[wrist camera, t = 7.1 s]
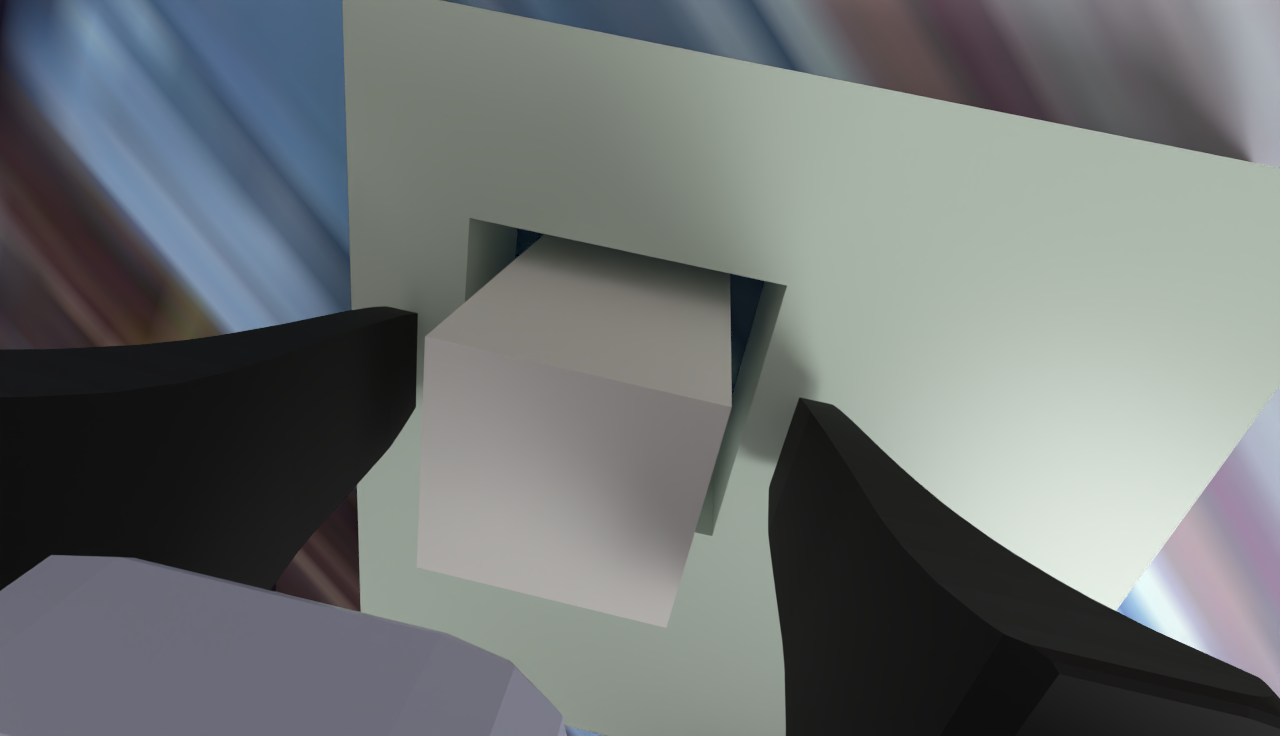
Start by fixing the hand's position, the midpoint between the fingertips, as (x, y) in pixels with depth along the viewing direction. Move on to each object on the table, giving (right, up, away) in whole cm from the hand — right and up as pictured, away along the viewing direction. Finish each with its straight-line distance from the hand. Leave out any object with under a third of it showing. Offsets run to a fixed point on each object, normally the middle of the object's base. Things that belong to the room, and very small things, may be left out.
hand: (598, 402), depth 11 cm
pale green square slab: (+3, -1, +4) cm, 5 cm away
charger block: (0, +2, +3) cm, 4 cm away
